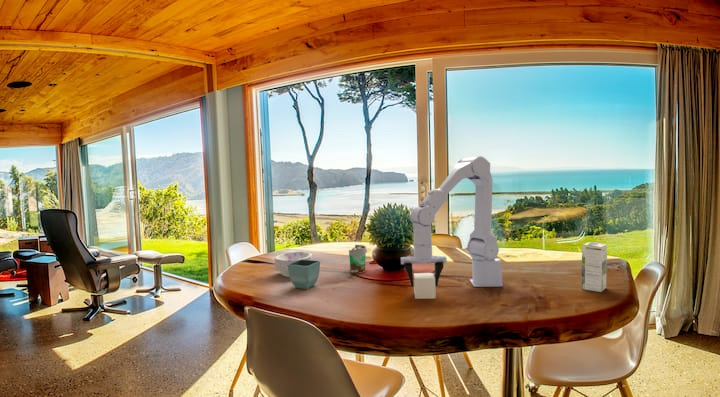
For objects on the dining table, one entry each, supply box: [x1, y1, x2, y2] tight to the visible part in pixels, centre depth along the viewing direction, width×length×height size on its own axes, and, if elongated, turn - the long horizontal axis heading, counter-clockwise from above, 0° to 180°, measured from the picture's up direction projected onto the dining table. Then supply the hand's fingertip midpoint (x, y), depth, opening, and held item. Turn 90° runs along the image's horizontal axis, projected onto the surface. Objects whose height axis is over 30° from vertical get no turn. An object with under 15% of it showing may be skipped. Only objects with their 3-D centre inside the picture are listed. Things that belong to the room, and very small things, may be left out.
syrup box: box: [581, 241, 608, 293], centre depth 120 cm, size 6×6×14 cm
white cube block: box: [413, 272, 437, 300], centre depth 121 cm, size 6×6×6 cm
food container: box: [348, 244, 368, 275], centre depth 155 cm, size 12×6×10 cm, turn 168°
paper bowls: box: [274, 251, 313, 278], centre depth 155 cm, size 15×15×8 cm
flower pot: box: [288, 259, 321, 290], centre depth 136 cm, size 9×9×9 cm
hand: (424, 285), depth 122 cm, fingers open, 7 cm apart
